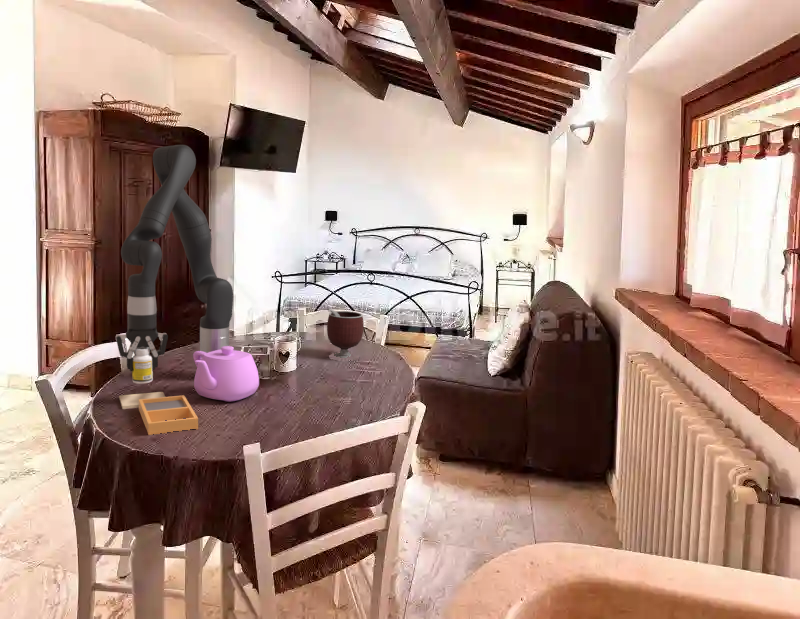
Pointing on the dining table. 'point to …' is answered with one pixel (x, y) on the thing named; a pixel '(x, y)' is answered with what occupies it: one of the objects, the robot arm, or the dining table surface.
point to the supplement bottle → (142, 366)
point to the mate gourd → (344, 330)
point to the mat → (137, 399)
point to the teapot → (225, 374)
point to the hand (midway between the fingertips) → (142, 369)
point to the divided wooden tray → (167, 414)
